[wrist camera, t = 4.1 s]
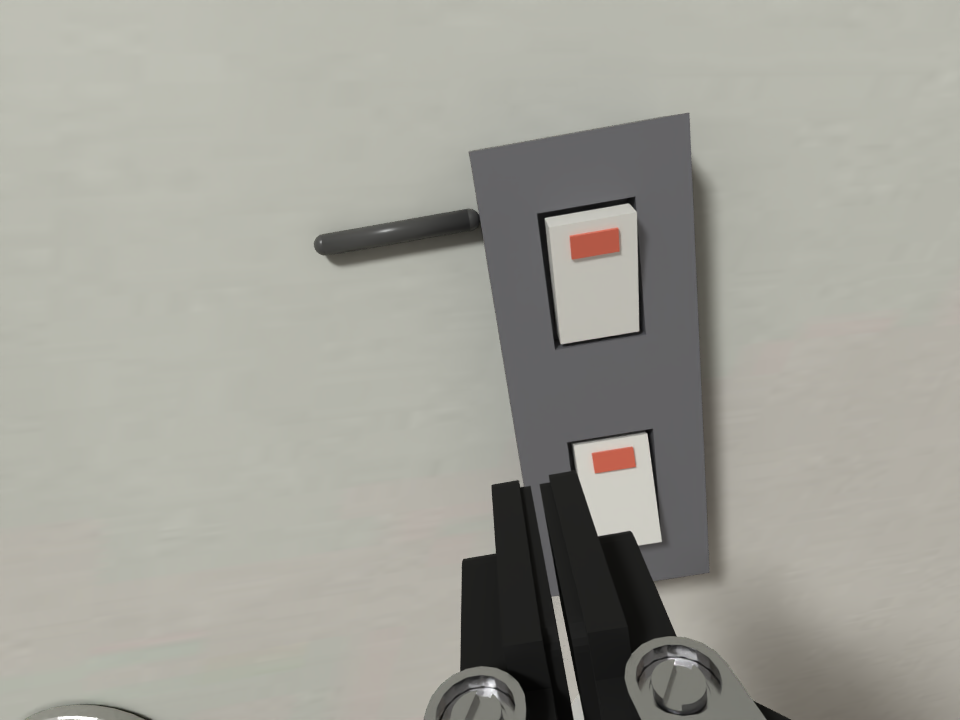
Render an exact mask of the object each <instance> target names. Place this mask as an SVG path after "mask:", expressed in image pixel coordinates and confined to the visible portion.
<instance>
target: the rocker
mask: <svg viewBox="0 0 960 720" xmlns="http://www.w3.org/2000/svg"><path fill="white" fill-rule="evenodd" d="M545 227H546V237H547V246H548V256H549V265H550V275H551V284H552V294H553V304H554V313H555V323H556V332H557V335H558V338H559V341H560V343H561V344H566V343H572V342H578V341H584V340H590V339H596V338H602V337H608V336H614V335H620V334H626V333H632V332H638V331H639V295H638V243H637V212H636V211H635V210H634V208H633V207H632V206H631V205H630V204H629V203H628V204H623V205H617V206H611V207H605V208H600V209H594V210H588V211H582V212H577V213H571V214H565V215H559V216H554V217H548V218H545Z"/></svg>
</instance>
